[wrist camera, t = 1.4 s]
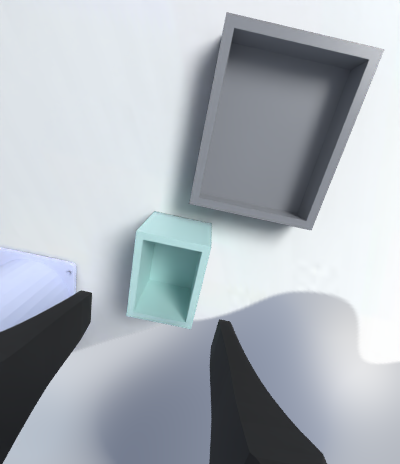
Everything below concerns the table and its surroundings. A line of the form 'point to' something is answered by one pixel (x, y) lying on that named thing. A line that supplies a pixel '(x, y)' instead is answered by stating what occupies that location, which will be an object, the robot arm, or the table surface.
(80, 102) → the table surface
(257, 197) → the gray tray
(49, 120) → the table surface
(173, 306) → the small crate
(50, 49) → the table surface
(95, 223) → the table surface
